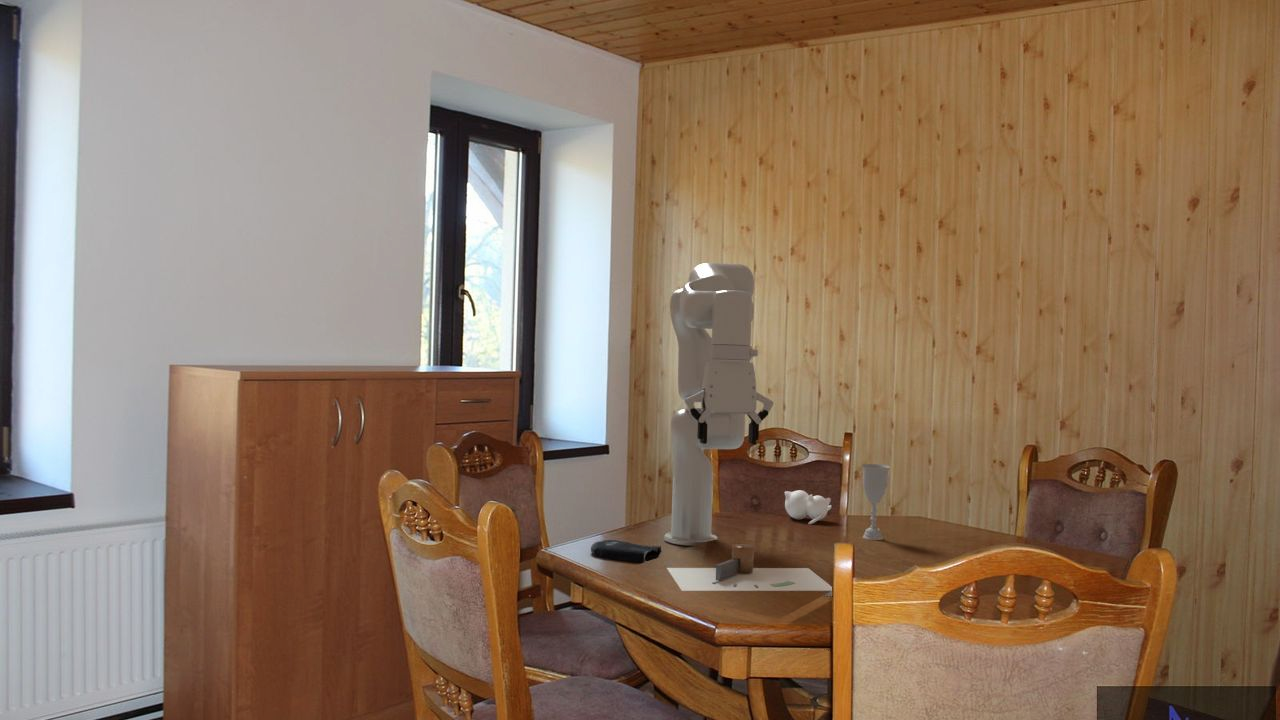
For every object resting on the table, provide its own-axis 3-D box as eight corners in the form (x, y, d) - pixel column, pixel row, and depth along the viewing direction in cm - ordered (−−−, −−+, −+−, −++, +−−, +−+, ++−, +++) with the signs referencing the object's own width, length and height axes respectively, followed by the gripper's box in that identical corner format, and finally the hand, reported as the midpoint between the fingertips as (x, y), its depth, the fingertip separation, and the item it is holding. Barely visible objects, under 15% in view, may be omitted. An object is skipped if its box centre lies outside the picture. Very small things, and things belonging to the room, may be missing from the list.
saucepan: (737, 567, 208) (738, 542, 207) (756, 570, 205) (757, 546, 205) (707, 578, 197) (708, 553, 197) (728, 582, 194) (728, 556, 194)
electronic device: (662, 563, 222) (602, 546, 229) (664, 540, 221) (604, 523, 227) (643, 578, 214) (582, 559, 220) (646, 553, 213) (584, 535, 219)
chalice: (893, 540, 248) (896, 467, 248) (869, 541, 246) (872, 468, 245) (875, 534, 255) (878, 463, 255) (852, 535, 253) (855, 464, 252)
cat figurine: (830, 487, 270) (788, 481, 276) (818, 513, 262) (775, 506, 268) (834, 512, 274) (792, 505, 280) (821, 538, 267) (779, 530, 273)
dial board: (666, 573, 206) (666, 567, 206) (808, 573, 210) (808, 567, 210) (681, 597, 188) (681, 589, 188) (836, 596, 192) (836, 589, 192)
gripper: (768, 356, 199) (766, 442, 199) (682, 353, 196) (680, 441, 196) (779, 356, 191) (776, 446, 191) (690, 353, 188) (687, 444, 189)
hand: (727, 443), depth 194 cm, fingers open, 9 cm apart
